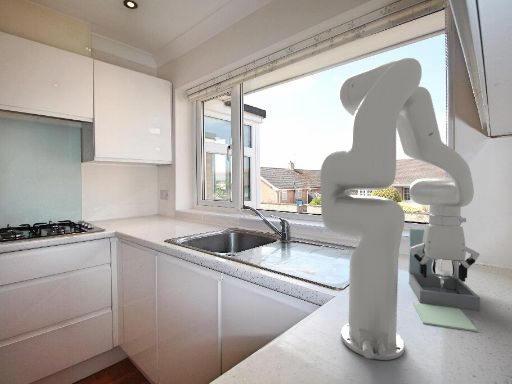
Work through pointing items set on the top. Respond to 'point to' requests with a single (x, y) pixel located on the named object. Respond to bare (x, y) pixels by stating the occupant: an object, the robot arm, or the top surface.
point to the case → (438, 281)
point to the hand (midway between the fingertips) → (442, 278)
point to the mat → (443, 316)
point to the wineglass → (442, 270)
